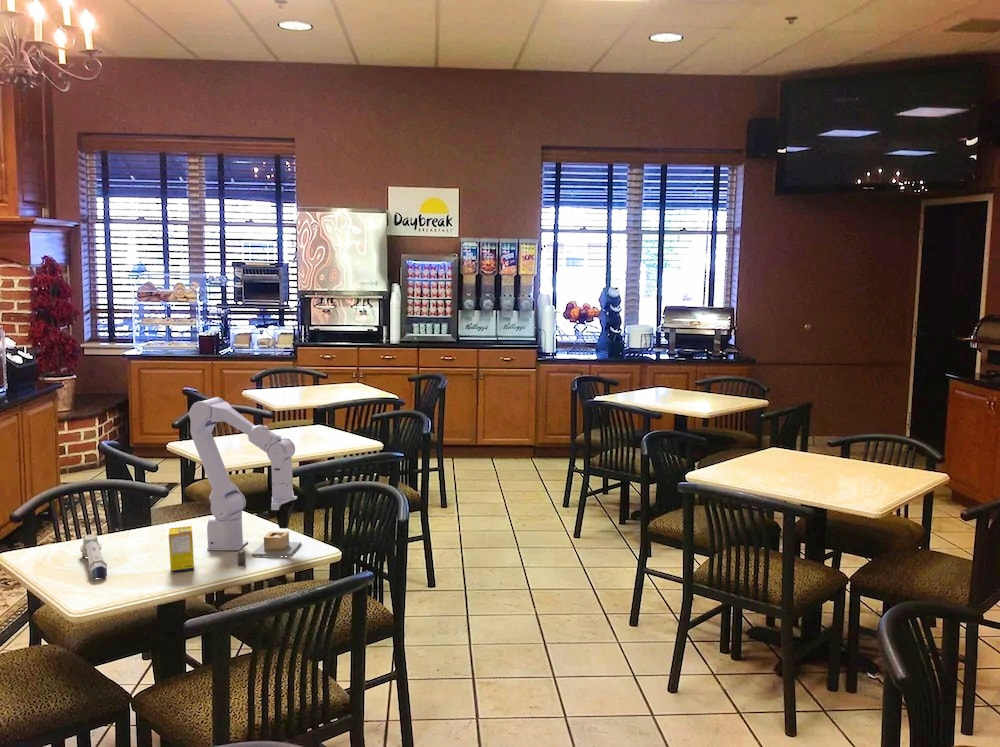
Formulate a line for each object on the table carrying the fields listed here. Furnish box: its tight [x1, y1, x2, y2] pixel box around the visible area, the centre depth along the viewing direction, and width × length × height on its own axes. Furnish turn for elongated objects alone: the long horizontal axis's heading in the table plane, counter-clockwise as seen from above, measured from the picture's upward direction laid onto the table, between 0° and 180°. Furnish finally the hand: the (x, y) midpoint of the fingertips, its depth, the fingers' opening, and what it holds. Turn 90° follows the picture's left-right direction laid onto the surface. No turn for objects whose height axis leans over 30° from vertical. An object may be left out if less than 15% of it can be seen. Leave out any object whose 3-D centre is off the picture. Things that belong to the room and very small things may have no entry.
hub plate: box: [251, 535, 302, 558], centre depth 242 cm, size 11×11×4 cm
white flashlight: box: [79, 533, 108, 580], centre depth 230 cm, size 5×7×25 cm
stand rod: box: [236, 550, 246, 567], centre depth 231 cm, size 2×2×4 cm
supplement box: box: [168, 525, 195, 573], centre depth 227 cm, size 6×6×11 cm
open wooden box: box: [263, 531, 290, 551], centre depth 242 cm, size 6×6×4 cm
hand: (283, 527), depth 241 cm, fingers closed
